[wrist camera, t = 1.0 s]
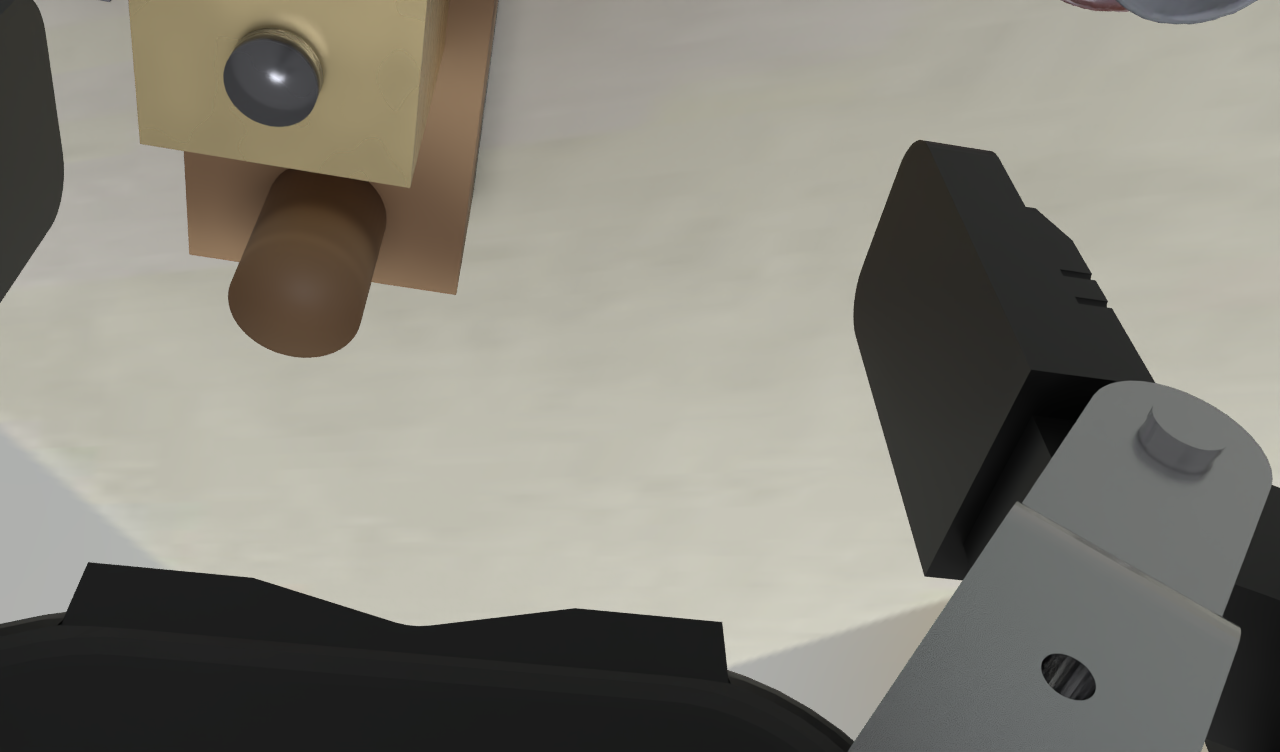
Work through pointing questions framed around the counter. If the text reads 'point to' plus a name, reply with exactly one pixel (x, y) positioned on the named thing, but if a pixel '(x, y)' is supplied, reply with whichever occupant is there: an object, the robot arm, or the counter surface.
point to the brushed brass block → (290, 81)
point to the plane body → (347, 215)
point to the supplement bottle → (1168, 9)
